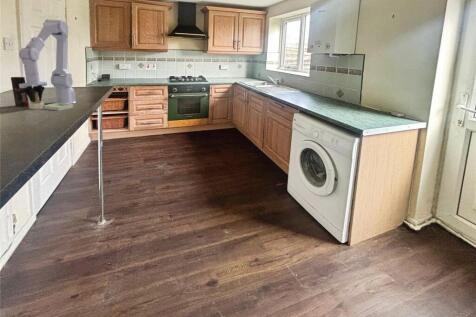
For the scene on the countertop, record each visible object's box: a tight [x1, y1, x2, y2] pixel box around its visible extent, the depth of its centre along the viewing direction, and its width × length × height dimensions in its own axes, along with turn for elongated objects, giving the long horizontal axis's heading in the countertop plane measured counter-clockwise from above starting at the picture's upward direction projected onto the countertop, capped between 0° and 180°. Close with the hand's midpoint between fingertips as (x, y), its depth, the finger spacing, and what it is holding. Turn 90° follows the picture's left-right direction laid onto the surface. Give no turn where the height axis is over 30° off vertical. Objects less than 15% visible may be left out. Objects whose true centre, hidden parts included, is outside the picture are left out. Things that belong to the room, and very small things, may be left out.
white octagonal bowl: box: [28, 101, 45, 110], centre depth 166 cm, size 7×7×3 cm
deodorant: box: [10, 76, 30, 108], centre depth 168 cm, size 6×6×15 cm
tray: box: [42, 103, 75, 111], centre depth 169 cm, size 11×9×2 cm
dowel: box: [33, 92, 41, 104], centre depth 165 cm, size 3×3×8 cm
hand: (36, 101), depth 165 cm, fingers open, 3 cm apart
